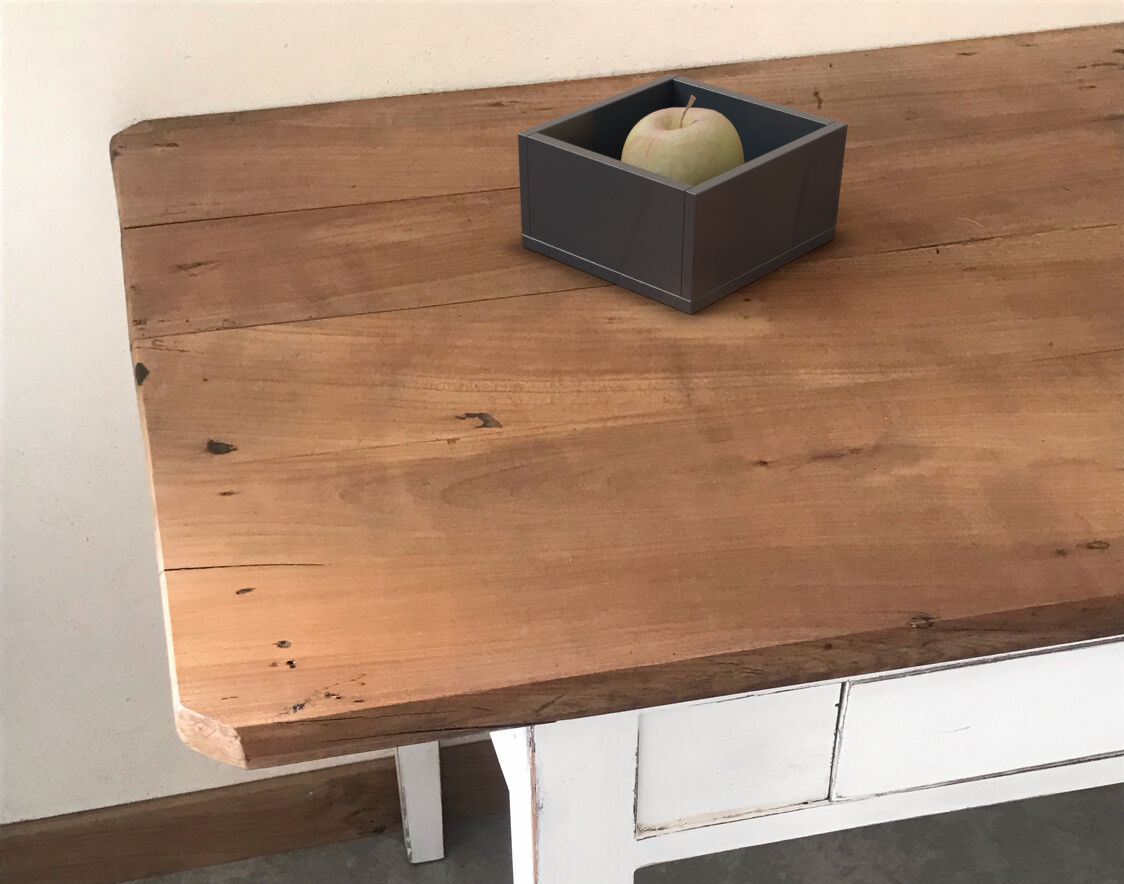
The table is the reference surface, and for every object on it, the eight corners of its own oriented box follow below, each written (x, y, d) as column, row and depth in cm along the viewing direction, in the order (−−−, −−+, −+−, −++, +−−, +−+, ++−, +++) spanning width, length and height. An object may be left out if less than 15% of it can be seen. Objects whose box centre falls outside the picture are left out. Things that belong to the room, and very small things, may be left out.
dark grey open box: (835, 238, 85) (848, 123, 80) (690, 314, 78) (696, 194, 73) (667, 181, 92) (671, 72, 87) (521, 246, 85) (517, 132, 80)
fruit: (767, 232, 84) (779, 93, 78) (677, 268, 80) (682, 125, 75) (683, 195, 88) (688, 61, 82) (594, 227, 85) (593, 90, 79)
